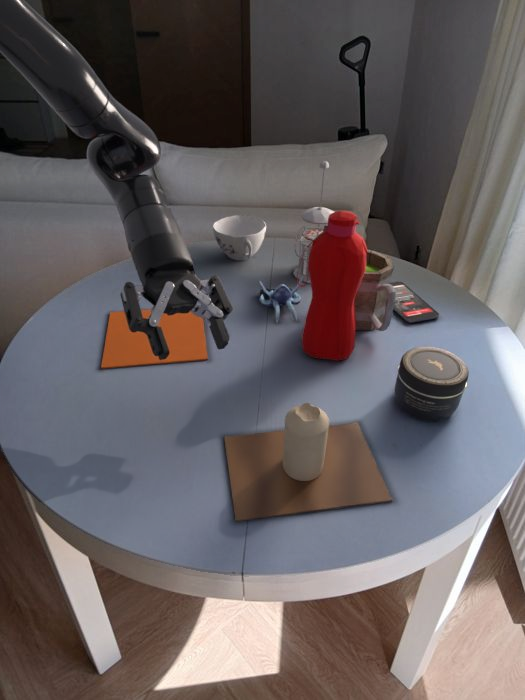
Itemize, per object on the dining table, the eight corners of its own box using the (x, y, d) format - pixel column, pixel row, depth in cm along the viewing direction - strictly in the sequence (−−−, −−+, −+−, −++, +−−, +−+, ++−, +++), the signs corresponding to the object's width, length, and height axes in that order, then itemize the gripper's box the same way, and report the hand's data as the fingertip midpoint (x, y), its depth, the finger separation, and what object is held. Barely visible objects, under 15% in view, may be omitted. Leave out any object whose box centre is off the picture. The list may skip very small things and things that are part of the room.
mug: (320, 307, 101) (325, 253, 94) (366, 298, 104) (374, 245, 97) (359, 349, 89) (368, 291, 82) (409, 338, 92) (422, 281, 85)
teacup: (209, 247, 123) (207, 217, 119) (256, 242, 126) (257, 212, 122) (223, 274, 112) (222, 241, 107) (275, 268, 115) (276, 235, 110)
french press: (344, 273, 113) (359, 161, 98) (312, 290, 106) (322, 173, 92) (312, 260, 119) (320, 152, 104) (279, 275, 112) (283, 162, 97)
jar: (404, 375, 83) (413, 338, 79) (464, 397, 79) (477, 359, 74) (382, 408, 76) (390, 369, 72) (446, 434, 72) (459, 395, 67)
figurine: (271, 329, 96) (263, 294, 92) (256, 304, 106) (248, 271, 101) (316, 314, 97) (310, 279, 92) (297, 290, 107) (290, 258, 102)
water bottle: (296, 329, 94) (304, 200, 79) (354, 336, 92) (373, 206, 78) (289, 358, 86) (297, 221, 72) (352, 365, 85) (373, 227, 70)
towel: (101, 368, 83) (100, 367, 83) (110, 313, 98) (110, 312, 97) (207, 359, 86) (207, 358, 86) (201, 307, 100) (201, 305, 100)
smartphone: (408, 320, 96) (371, 285, 107) (408, 323, 96) (371, 288, 107) (440, 315, 97) (400, 280, 109) (440, 318, 98) (400, 283, 109)
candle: (283, 482, 64) (287, 427, 58) (281, 450, 69) (284, 396, 63) (325, 481, 64) (333, 426, 58) (320, 449, 69) (327, 396, 63)
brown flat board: (235, 521, 60) (235, 520, 59) (224, 438, 71) (224, 436, 70) (392, 501, 62) (392, 499, 62) (357, 424, 73) (357, 422, 73)
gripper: (113, 231, 61) (152, 348, 57) (212, 229, 69) (253, 331, 65) (100, 265, 67) (135, 373, 62) (193, 259, 75) (230, 354, 70)
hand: (195, 351), depth 64 cm, fingers open, 8 cm apart
